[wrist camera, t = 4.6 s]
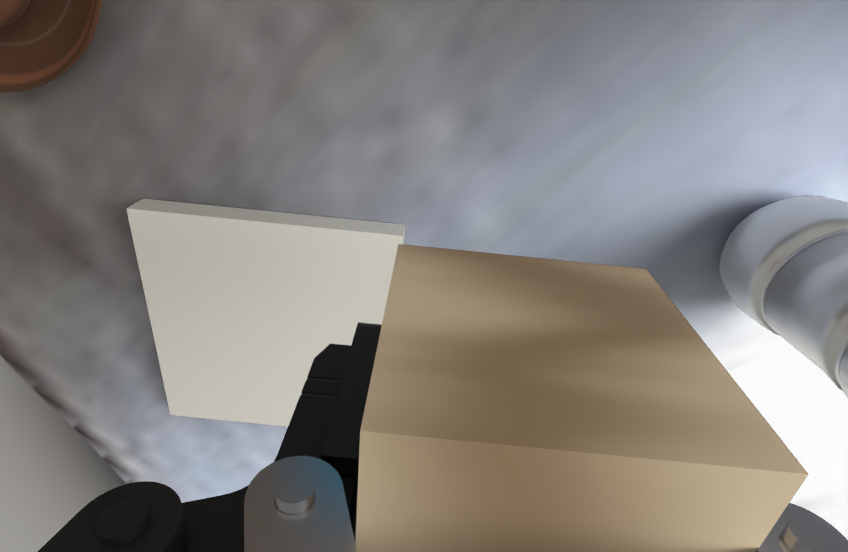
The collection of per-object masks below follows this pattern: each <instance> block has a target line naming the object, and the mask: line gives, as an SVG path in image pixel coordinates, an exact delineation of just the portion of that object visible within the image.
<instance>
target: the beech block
mask: <svg viewBox="0 0 848 552" xmlns="http://www.w3.org/2000/svg"><path fill="white" fill-rule="evenodd" d="M807 476H808V473H807V472H806V471H805V469H804V468H803V467H802V465H801V464H800V463H799V462H798V460H797V459H796V458H795V457H794V455H793V454H792V453H791V452H790V450H789V449H788V448H787V446H786V445H785V444H784V443H783V441H782V440H781V439H780V438H779V436H778V435H777V434H776V433H775V431H774V430H773V429H772V427H771V426H770V425H769V424H768V422H767V421H766V420H765V419H764V417H763V416H762V415H761V414H760V412H759V411H758V410H757V409H756V407H755V406H754V405H753V403H752V402H751V401H750V400H749V398H748V397H747V396H746V395H745V393H744V392H743V391H742V390H741V388H740V387H739V386H738V384H737V383H736V382H735V381H734V379H733V378H732V377H731V376H730V374H729V373H728V372H727V371H726V369H725V368H724V367H723V365H722V364H721V363H720V362H719V360H718V359H717V358H716V357H715V355H714V354H713V353H712V352H711V350H710V349H709V348H708V346H707V345H706V344H705V343H704V341H703V340H702V339H701V338H700V336H699V335H698V334H697V333H696V331H695V330H694V329H693V328H692V326H691V325H690V324H689V322H688V321H687V320H686V319H685V317H684V316H683V315H682V314H681V312H680V311H679V310H678V309H677V307H676V306H675V305H674V303H673V302H672V301H671V300H670V298H669V297H668V296H667V295H666V293H665V292H664V291H663V290H662V288H661V287H660V286H659V284H658V283H657V282H656V281H655V279H654V278H653V277H652V276H651V274H650V273H649V272H648V271H647V269H643V268H633V267H623V266H613V265H603V264H593V263H583V262H573V261H563V260H553V259H543V258H533V257H523V256H513V255H503V254H493V253H483V252H473V251H463V250H453V249H443V248H433V247H423V246H413V245H403V244H398V248H397V253H396V258H395V263H394V268H393V273H392V278H391V283H390V288H389V292H388V297H387V302H386V307H385V312H384V317H383V322H382V327H381V331H380V336H379V341H378V346H377V351H376V356H375V361H374V366H373V371H372V375H371V380H370V385H369V390H368V395H367V400H366V405H365V410H364V414H363V419H362V424H361V429H360V446H359V470H358V493H357V517H356V541H355V545H356V550H357V552H756V550H757V549H758V548H759V547H760V546H761V544H762V543H763V541H764V540H765V538H766V537H767V535H768V534H769V532H770V531H771V529H772V528H773V526H774V525H775V523H776V522H777V520H778V519H779V517H780V516H781V514H782V513H783V511H784V510H785V508H786V507H787V505H788V504H789V502H790V501H791V499H792V498H793V496H794V495H795V493H796V492H797V490H798V489H799V487H800V486H801V484H802V483H803V481H804V480H805V478H806V477H807Z"/></svg>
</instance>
